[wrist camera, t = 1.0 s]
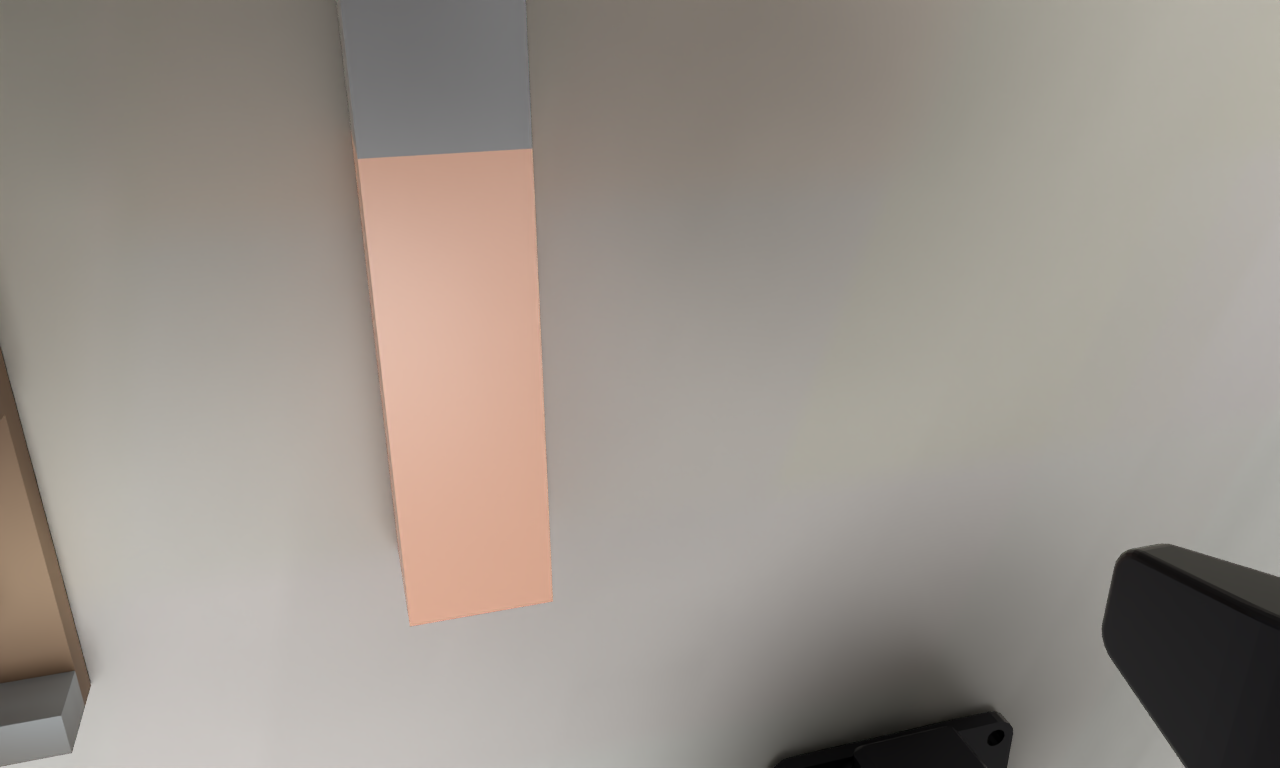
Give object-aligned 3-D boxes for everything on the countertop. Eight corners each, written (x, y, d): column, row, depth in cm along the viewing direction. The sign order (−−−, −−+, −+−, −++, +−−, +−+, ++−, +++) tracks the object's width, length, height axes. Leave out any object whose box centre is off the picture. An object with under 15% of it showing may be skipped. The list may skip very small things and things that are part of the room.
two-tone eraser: (526, 530, 21) (552, 601, 18) (398, 550, 20) (409, 626, 18) (492, -74, 16) (522, -74, 14) (327, -73, 16) (331, -75, 13)
